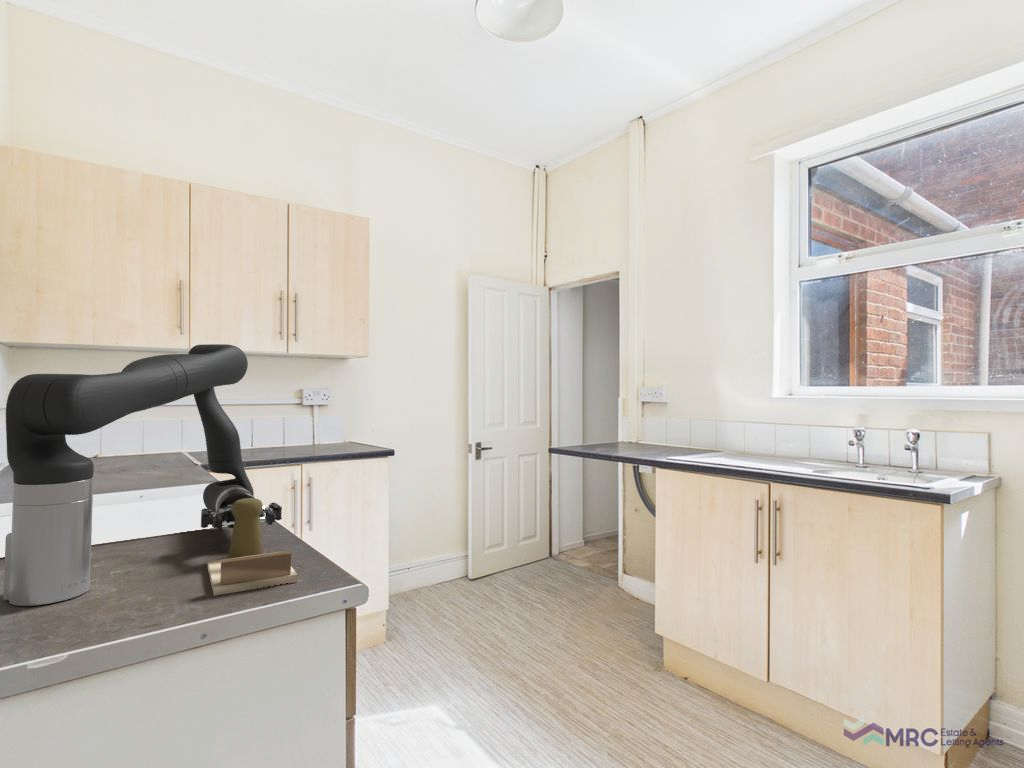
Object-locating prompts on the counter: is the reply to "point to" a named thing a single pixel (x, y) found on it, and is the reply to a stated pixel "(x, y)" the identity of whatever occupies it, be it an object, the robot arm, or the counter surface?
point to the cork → (246, 528)
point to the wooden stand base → (251, 572)
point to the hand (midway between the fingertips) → (246, 521)
